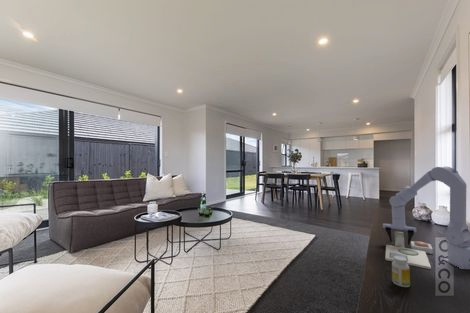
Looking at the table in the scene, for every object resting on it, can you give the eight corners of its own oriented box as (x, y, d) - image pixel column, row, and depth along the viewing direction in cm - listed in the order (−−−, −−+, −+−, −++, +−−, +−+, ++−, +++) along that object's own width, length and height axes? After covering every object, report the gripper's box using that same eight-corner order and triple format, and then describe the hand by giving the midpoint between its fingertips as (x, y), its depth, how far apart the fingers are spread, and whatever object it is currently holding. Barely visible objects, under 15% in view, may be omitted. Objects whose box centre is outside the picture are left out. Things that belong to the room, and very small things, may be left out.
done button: (427, 247, 108) (427, 245, 108) (415, 245, 111) (415, 243, 111) (426, 244, 112) (426, 242, 112) (415, 242, 115) (415, 240, 115)
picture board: (431, 269, 91) (430, 266, 91) (385, 259, 100) (385, 257, 100) (425, 253, 107) (425, 251, 107) (386, 246, 116) (386, 244, 116)
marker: (406, 248, 114) (406, 234, 114) (398, 247, 114) (397, 233, 114) (401, 245, 118) (400, 231, 118) (393, 245, 118) (392, 231, 119)
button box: (432, 254, 106) (432, 249, 106) (412, 250, 111) (411, 245, 111) (430, 248, 112) (430, 244, 112) (411, 245, 117) (410, 241, 117)
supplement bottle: (391, 283, 80) (390, 258, 81) (393, 278, 84) (392, 253, 85) (409, 289, 77) (408, 262, 77) (410, 283, 81) (409, 257, 81)
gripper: (415, 218, 115) (416, 243, 115) (382, 214, 124) (383, 238, 124) (416, 221, 110) (417, 247, 109) (382, 217, 118) (383, 241, 118)
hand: (399, 242), depth 116 cm, fingers open, 7 cm apart
